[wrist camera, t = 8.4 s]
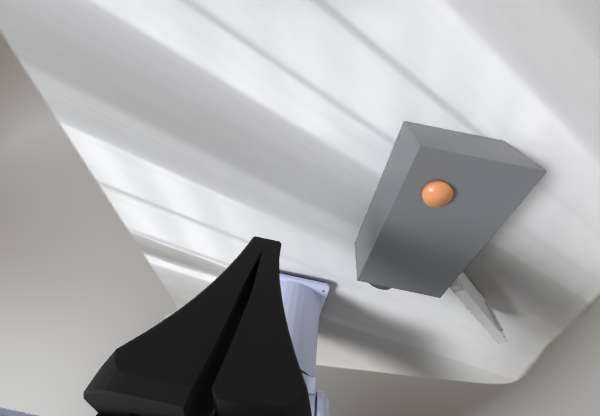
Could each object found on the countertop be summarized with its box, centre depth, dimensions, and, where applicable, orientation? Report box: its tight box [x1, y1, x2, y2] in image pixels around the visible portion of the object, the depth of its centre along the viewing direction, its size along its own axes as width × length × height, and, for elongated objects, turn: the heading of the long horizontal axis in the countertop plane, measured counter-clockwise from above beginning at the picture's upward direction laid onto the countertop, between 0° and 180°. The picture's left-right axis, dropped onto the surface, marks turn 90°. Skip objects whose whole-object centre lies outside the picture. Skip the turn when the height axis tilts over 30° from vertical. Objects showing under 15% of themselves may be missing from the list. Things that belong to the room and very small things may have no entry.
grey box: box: [355, 121, 547, 298], centre depth 19 cm, size 13×7×5 cm, turn 171°
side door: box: [450, 272, 507, 343], centre depth 23 cm, size 10×1×4 cm, turn 43°
